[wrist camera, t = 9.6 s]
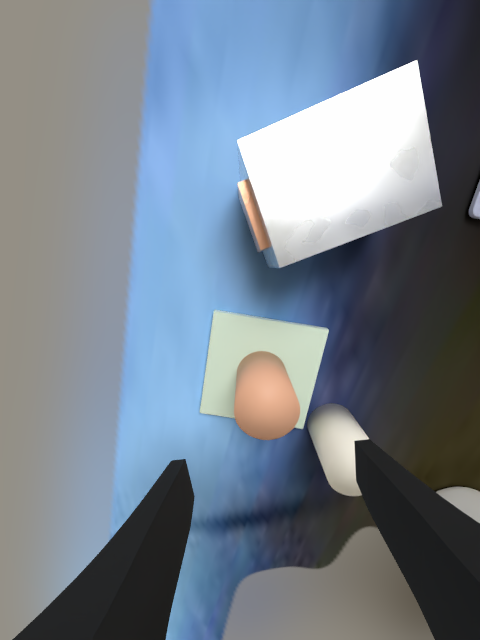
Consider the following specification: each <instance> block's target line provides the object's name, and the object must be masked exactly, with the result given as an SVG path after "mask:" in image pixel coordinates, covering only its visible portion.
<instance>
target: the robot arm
mask: <svg viewBox="0 0 480 640" xmlns="http://www.w3.org/2000/svg"><path fill="white" fill-rule="evenodd" d="M469 215H470V217H472V218H476V219H480V181H479V183H478V186H477V189H476V192H475V194H474V197H473V200H472V203H471V205H470V208H469ZM354 443H355V467H356V482H357V484H358V487H359V489H360V491H361V494H362V496H363V499H364V501H365V503H366V505H367V508H368V510H369V512H370V514H371V516H372V518H373V520H374V521H375V523H376V525H377V527H378V529H379V531H380V533H381V535H382V536H383V538H384V540H385V542H386V544H387V545H388V547H389V549H390V551H391V553H392V555H393V556H394V559H395V560H396V562H397V564H398V566H399V568H400V570H401V572H402V573H403V575H404V577H405V579H406V581H407V583H408V584H409V586H410V588H411V590H412V592H413V594H414V596H415V598H416V600H417V602H418V604H419V606H420V608H421V610H422V612H423V615H424V617H425V619H426V621H427V623H428V626H429V628H430V630H431V632H432V634H433V636H434V639H435V640H480V523H478V522H477V521H475V520H474V519H473V518H471V517H470V516H468V515H467V514H465V513H464V512H462V511H461V510H460V509H458V508H457V507H455V506H454V505H453V504H451V503H450V502H448V501H447V500H446V499H444V498H443V497H441V496H440V495H439V494H437V493H436V492H435V491H433V490H432V489H431V488H429V487H428V486H427V485H426V484H424V483H423V482H422V481H420V480H419V479H418V478H417V477H415V476H414V475H413V474H411V473H410V472H409V471H408V470H406V469H405V468H404V467H403V466H401V465H400V464H399V463H398V462H397V461H395V460H394V459H393V458H392V457H390V456H389V455H388V454H387V453H386V452H384V451H383V450H382V449H381V448H380V447H378V446H377V445H376V444H375V443H373V442H372V441H371V440H370V439H367V440H358V441H354ZM193 504H194V493H193V489H192V485H191V480H190V476H189V472H188V468H187V464H186V460H185V459H182V460H173V461H171V462H170V463H169V465H168V466H167V467H166V469H165V470H164V471H163V473H162V474H161V476H160V477H159V478H158V480H157V481H156V482H155V484H154V485H153V487H152V488H151V489H150V491H149V492H148V493H147V495H146V496H145V497H144V499H143V500H142V501H141V503H140V504H139V505H138V506H137V508H136V509H135V510H134V512H133V513H132V514H131V515H130V517H129V518H128V519H127V520H126V522H125V523H124V524H123V525H122V527H121V528H120V529H119V530H118V531H117V533H116V534H115V535H114V536H113V538H112V539H111V540H110V541H109V542H108V543H107V545H106V546H105V547H104V548H103V549H102V550H101V552H100V553H99V554H98V555H97V556H96V557H95V558H94V559H93V560H92V562H91V563H90V564H89V565H88V566H87V567H86V568H85V569H84V570H83V571H82V572H81V573H80V574H79V575H78V576H77V578H76V579H75V580H74V581H73V582H72V583H71V584H70V585H69V586H68V587H67V588H66V589H65V590H64V591H63V592H62V593H61V594H60V595H59V596H58V597H57V598H56V599H55V600H54V601H53V602H52V603H51V604H50V605H49V606H48V607H47V608H46V609H45V610H44V611H43V612H42V613H40V615H38V616H37V617H36V618H35V619H34V620H33V621H32V622H31V623H30V624H29V625H28V626H27V627H26V628H25V629H24V630H23V631H21V632H20V633H19V634H18V635H17V636H16V637H15V638H14V639H13V640H165V639H166V633H167V627H168V622H169V617H170V612H171V608H172V603H173V599H174V595H175V590H176V586H177V582H178V578H179V573H180V569H181V565H182V561H183V557H184V552H185V548H186V544H187V539H188V535H189V531H190V526H191V519H192V512H193Z"/></svg>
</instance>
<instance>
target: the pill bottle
mask: <svg viewBox="0 0 480 640" xmlns="http://www.w3.org/2000/svg"><path fill="white" fill-rule="evenodd" d="M436 493H437V494H439V495H440V496H441V497H443V498H444V499H446V500H447V501H448V502H450V503H451V504H453V505H454V506H455V507H457V508H458V509H460V510H461V511H462V512H464V513H465V514H467V515H468V516H470V517H471V518H473V519H474V520H475V521H477V522H478V523H480V492H479V491H477V490H475V489H472V488H468V487H450V488H445V489H442V490H439V491H437V492H436Z"/></svg>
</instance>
